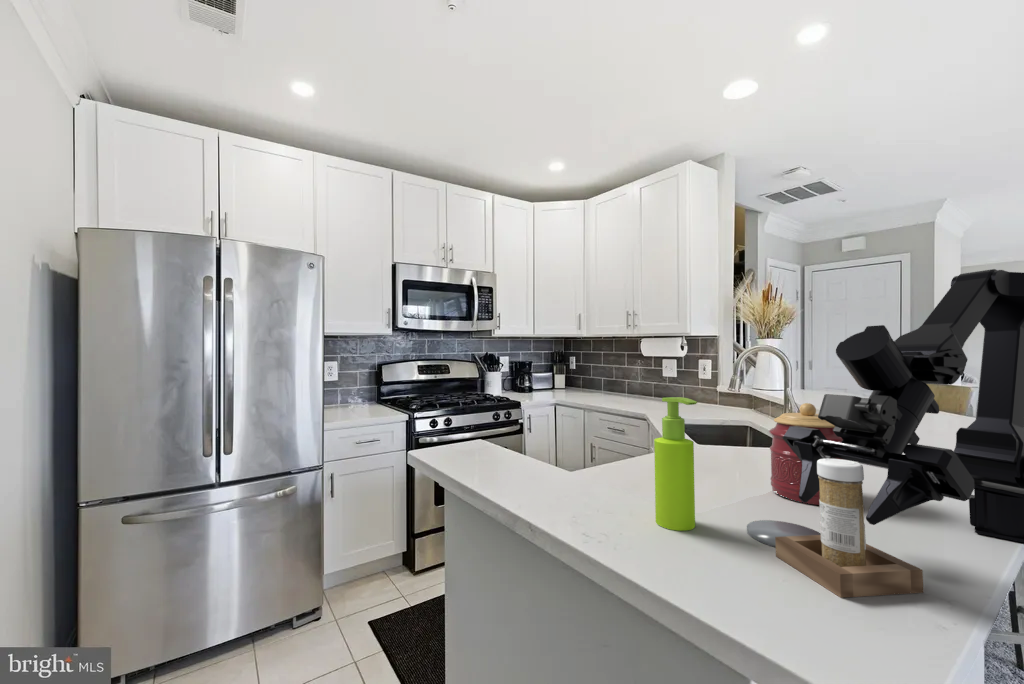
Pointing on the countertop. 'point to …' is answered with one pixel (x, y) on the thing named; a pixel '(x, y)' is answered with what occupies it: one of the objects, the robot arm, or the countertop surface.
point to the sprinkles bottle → (842, 512)
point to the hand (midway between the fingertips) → (833, 510)
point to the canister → (785, 460)
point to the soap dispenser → (674, 471)
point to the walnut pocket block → (850, 569)
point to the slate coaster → (776, 530)
